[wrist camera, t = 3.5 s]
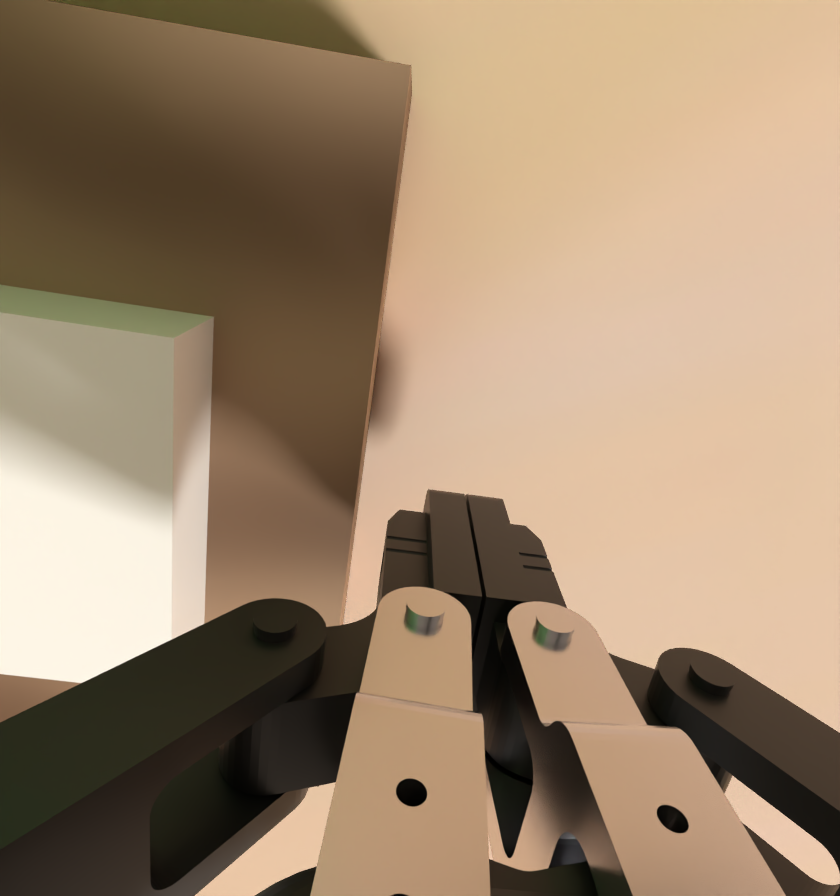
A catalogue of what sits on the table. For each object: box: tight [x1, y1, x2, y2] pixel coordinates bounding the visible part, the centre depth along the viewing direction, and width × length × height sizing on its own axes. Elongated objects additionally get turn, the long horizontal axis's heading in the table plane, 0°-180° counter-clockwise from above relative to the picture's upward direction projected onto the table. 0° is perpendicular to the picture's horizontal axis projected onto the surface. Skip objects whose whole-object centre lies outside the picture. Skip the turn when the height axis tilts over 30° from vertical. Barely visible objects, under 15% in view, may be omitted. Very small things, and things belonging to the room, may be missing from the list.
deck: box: [0, 0, 412, 722], centre depth 13 cm, size 16×14×2 cm
